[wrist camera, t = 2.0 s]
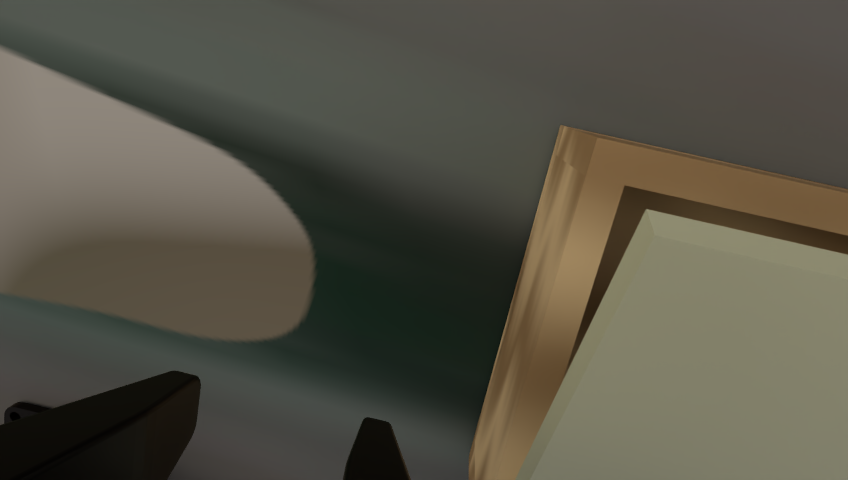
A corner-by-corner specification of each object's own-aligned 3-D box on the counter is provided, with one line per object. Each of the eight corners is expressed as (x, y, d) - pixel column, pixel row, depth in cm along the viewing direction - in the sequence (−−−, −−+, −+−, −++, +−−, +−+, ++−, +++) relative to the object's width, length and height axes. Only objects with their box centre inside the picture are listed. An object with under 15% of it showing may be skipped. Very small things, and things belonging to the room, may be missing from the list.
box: (798, 535, 23) (909, 685, 17) (469, 455, 23) (467, 575, 17) (956, 213, 19) (1166, 264, 13) (560, 125, 19) (597, 137, 14)
